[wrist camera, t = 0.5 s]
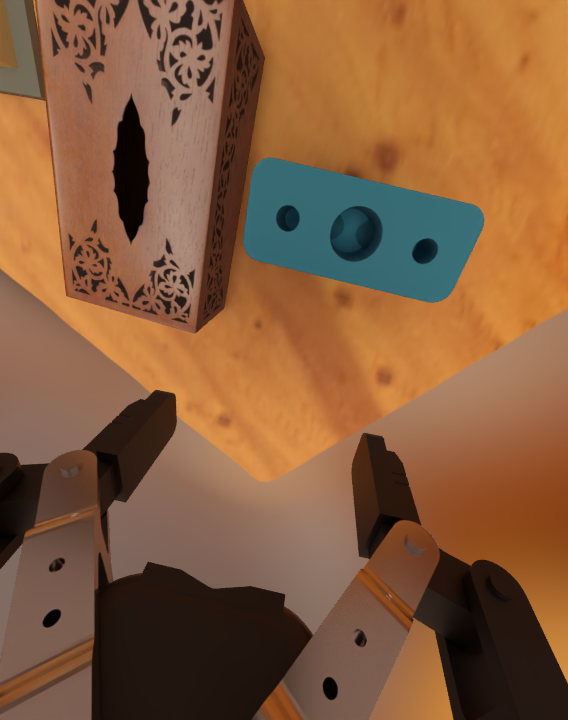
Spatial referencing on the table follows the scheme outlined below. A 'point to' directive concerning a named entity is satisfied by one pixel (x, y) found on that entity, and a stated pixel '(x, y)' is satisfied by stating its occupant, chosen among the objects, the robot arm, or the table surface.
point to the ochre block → (6, 40)
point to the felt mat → (23, 53)
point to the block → (358, 230)
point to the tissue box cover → (149, 148)
